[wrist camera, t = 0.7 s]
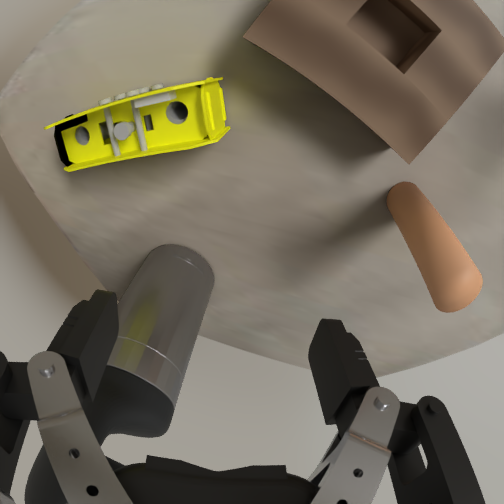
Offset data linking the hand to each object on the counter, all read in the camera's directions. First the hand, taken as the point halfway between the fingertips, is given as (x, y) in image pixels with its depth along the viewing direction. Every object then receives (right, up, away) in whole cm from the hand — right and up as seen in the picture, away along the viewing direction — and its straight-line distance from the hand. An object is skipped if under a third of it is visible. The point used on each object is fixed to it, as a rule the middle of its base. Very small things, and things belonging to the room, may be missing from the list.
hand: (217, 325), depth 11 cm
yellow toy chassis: (-9, +16, +15) cm, 24 cm away
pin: (+17, +8, +17) cm, 25 cm away
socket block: (+12, +22, +8) cm, 26 cm away
